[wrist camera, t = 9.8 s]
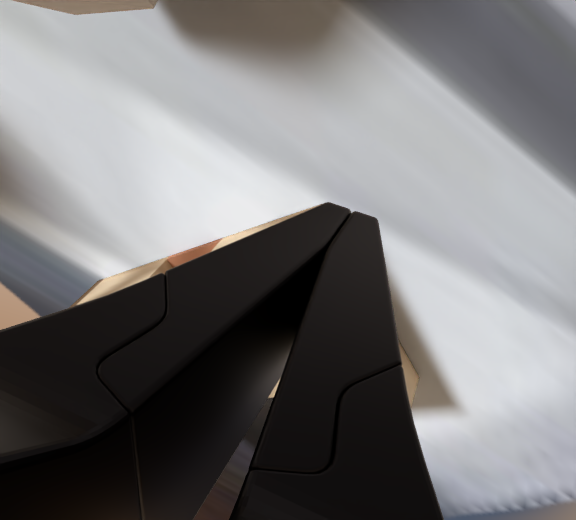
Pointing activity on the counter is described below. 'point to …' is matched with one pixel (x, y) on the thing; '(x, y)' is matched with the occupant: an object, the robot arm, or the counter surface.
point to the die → (92, 5)
